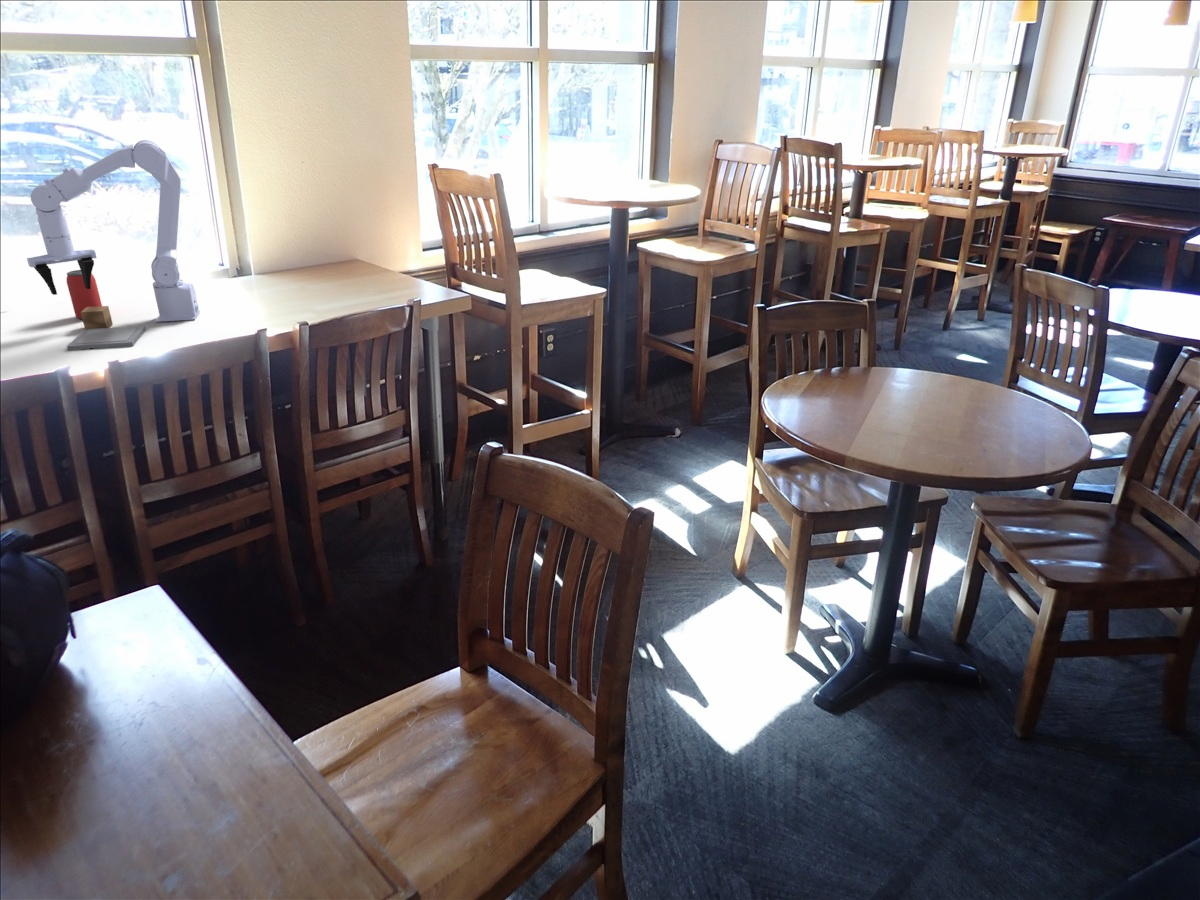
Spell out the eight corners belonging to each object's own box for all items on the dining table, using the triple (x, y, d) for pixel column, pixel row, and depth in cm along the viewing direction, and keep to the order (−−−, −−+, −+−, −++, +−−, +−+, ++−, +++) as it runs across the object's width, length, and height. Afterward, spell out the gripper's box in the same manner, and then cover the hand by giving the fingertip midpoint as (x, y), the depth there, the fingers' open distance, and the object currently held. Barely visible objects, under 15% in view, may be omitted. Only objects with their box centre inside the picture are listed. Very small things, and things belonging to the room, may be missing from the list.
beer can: (77, 315, 224) (65, 270, 219) (105, 312, 227) (94, 268, 221) (75, 321, 219) (62, 275, 213) (103, 318, 221) (92, 273, 216)
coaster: (146, 329, 212) (145, 325, 212) (133, 346, 200) (132, 341, 200) (85, 333, 209) (84, 329, 209) (68, 350, 197) (66, 345, 196)
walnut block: (112, 324, 216) (108, 305, 214) (107, 330, 212) (102, 311, 210) (91, 325, 215) (86, 307, 213) (85, 331, 211) (80, 312, 209)
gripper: (83, 230, 211) (97, 283, 217) (17, 238, 201) (33, 293, 207) (93, 233, 206) (106, 288, 212) (26, 242, 197) (42, 298, 203)
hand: (71, 291), depth 209 cm, fingers open, 7 cm apart
